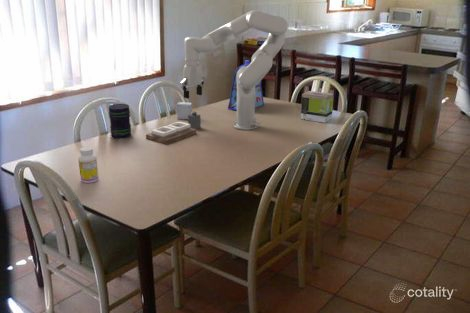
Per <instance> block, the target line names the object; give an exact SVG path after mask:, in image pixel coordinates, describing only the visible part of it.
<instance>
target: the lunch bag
mask: <svg viewBox="0 0 470 313" xmlns="http://www.w3.org/2000/svg"><path fill="white" fill-rule="evenodd" d="M250 63H251V60H247V59H246V60H245V61H244V64H242V65H240V66H238V67H236V69H235V71H234V74H233V79H232V84H231V89H230V95H229V103H228V106H227V109H228V110H229V111H230V110H236V111H237V81H236V76H237V72H238V70H239V69H240V68H241V67H244V66H248V65H249V64H250ZM264 104H265V101H264V95H263V89H262V80H261V81H260V82H259V83H258V84H257V85H256V86H255V109H257V108H259V107H262V106H264Z"/></svg>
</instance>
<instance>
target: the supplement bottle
mask: <svg viewBox="0 0 470 313" xmlns="http://www.w3.org/2000/svg"><path fill="white" fill-rule="evenodd" d="M79 153H80V154H79V156H78V157H77V158H78V159H77V162H78V168H79V175H80V176H79V177H80V180H81V182H82V183H85V184H88V183H89V184H91V183H95V182H97V181H99V180H100V176H99V168H98V158H97V154H95V153H94V148H93V147H91V146H84V147H80V148H79Z"/></svg>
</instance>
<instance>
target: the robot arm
mask: <svg viewBox="0 0 470 313" xmlns="http://www.w3.org/2000/svg"><path fill="white" fill-rule="evenodd" d="M288 29H289V23H288V21H287V20H286V18H284V17H283V16H282V17H281V16H280V15H273V14H269V13H266V12H263V11H261V10H258V9H252V10H250V11H248V12H246V13H243V14H242V15H241V16H238V17H237V18H235V19H233V20H231V21H229V22H228V23H225V24H224V25H222V26H220V27H218V28H216V29H214V30H213V31H211V32H209V33H208V34H206V35H204V36H203V37H201V38H200V37H198V36H187V37H185V38H184V66H183V70H182V80H181V81H180V82H179V83H180V84H179V85H180V88H181V89H182V90H183V98H184V99H190V90H189V89H190V87H194V86H196V95H198V96H202V95H203V88H204V84H205V79H206V78H205V77H204V76H203V73H202V65H201V53H202V54H211V53H213V52H214V51H215V50H216V47H218V46H220V45H222V44H223V43H226V42H229V41H234V40H237V39H239V38H241V37H242V36H244V35H246V34H247V33H250V32H251V31H254V30H256V31H260V32H262V33H263V32H264V33H267V34H268V36H267V38H266V39H265V41H264V42H263V43H262V44H261V46H259V48H258V49H257V50H256V51H255V52H253V54H252V56H251V58H250V59H251V60H250V64H249V65H248V66H244V67H241V68H240V69H239V70H238V72H237V76H236V81H237V110H236V122H234V123H233V127H234V128H235V129H236V130H243V131H249V130H254V129H255V130H256V129H257V128H259V127H260V126H261V122H259V121H257V118H255V117H256V114H255V113H256V108H255V86H256V85H257V84H258V83H259V82H260V81H261V82H262V80H263V79H264V77H265V76H266V75H267V74H268V73H269V72H270V70H271V69H272V67H273V62H274V61H273V59H274V58H275V57H276V55H277V54H278V53H279V52H280V50H281V49H282V47H283V46H284V44H285V41H286V35H287V34H286V33H287V31H288Z"/></svg>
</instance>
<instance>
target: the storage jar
mask: <svg viewBox="0 0 470 313" xmlns="http://www.w3.org/2000/svg"><path fill="white" fill-rule="evenodd" d="M130 113H131V112H130V105H129V104H127V103H115V104H111V105H109V106H108V117H109V119H110V120H109V122H110V129H109V130H110V135H111V136H112V137H113V139H116V138H118V139H117V140H119V139H120V138H121V139H120V140H122V138H123V139H127V138H130V137H131V136H132V127H131V126H132V125H131V121H130V116H131V114H130ZM112 137H111V138H112Z"/></svg>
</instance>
